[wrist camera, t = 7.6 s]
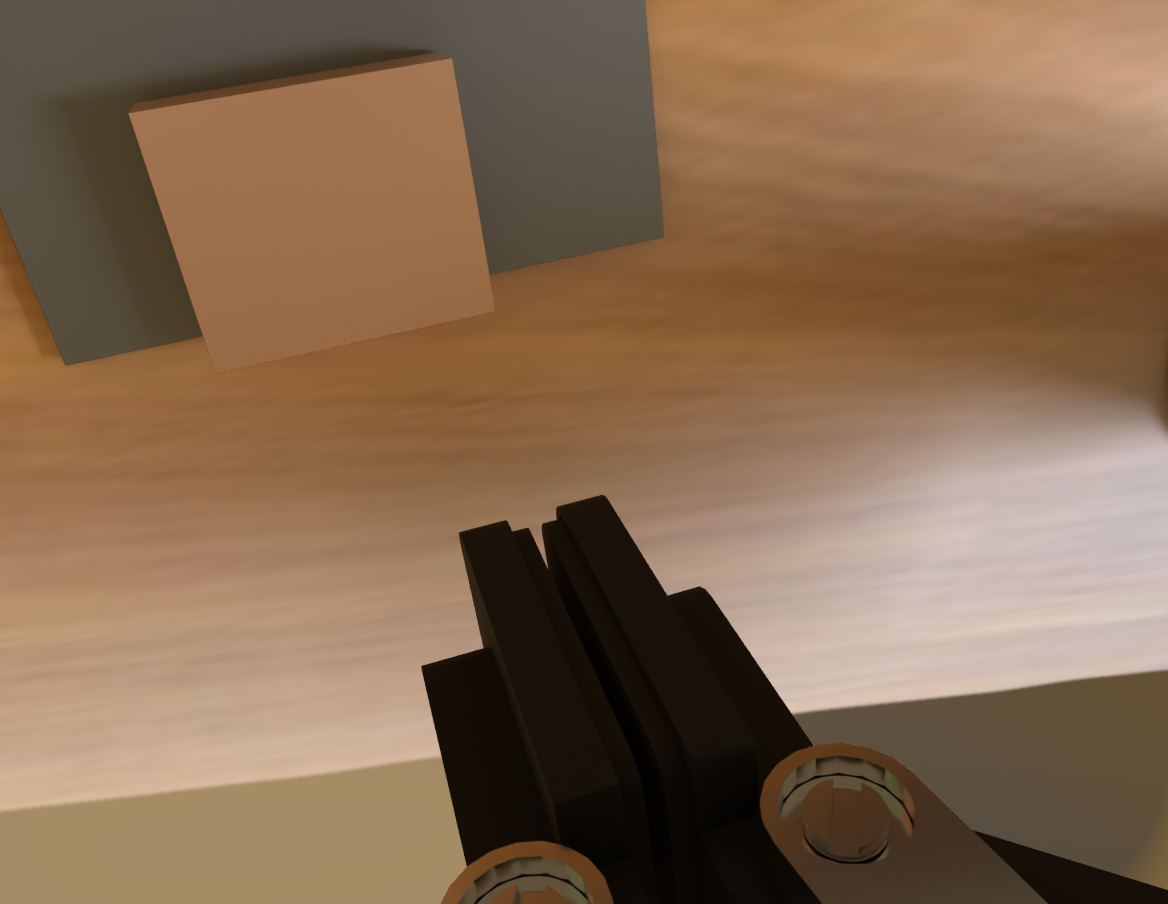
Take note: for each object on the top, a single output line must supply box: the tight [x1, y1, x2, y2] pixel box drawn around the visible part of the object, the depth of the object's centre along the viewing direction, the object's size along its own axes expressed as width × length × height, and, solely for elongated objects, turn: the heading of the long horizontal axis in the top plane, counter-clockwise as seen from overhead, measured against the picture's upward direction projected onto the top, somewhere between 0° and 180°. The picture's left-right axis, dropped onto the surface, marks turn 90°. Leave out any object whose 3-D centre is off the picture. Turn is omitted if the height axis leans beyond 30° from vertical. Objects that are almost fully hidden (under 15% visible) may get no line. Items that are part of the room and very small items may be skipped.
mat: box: [0, 0, 664, 366], centre depth 26 cm, size 18×15×1 cm
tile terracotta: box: [128, 51, 496, 374], centre depth 27 cm, size 2×7×8 cm
